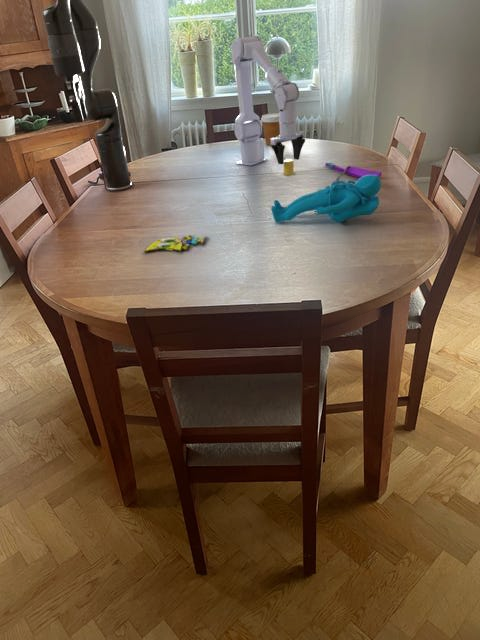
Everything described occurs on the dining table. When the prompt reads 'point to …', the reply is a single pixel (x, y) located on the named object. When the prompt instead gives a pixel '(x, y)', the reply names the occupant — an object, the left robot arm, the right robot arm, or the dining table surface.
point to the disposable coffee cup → (271, 126)
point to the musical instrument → (353, 171)
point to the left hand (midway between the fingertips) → (81, 119)
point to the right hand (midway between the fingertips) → (288, 161)
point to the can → (288, 166)
